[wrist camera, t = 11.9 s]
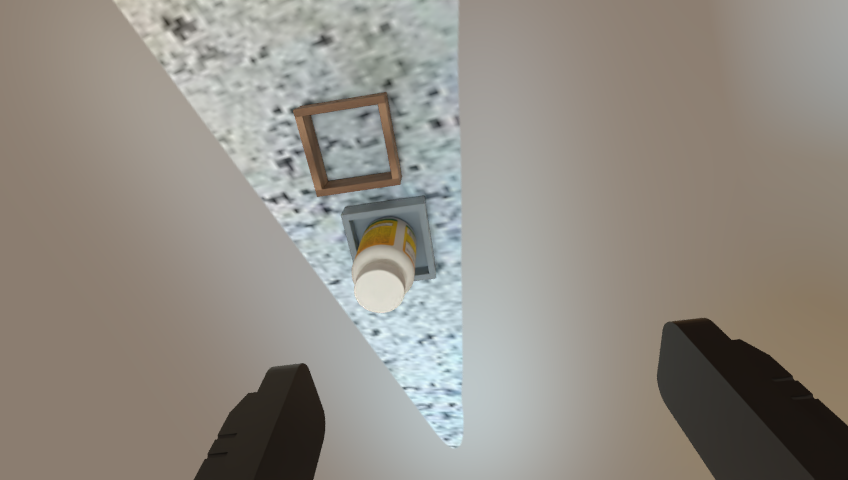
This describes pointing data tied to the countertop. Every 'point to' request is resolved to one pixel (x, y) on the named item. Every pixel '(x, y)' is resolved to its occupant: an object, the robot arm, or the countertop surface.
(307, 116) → the wooden square frame
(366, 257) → the supplement bottle
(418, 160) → the countertop surface
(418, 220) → the tray
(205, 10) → the countertop surface
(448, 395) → the countertop surface
